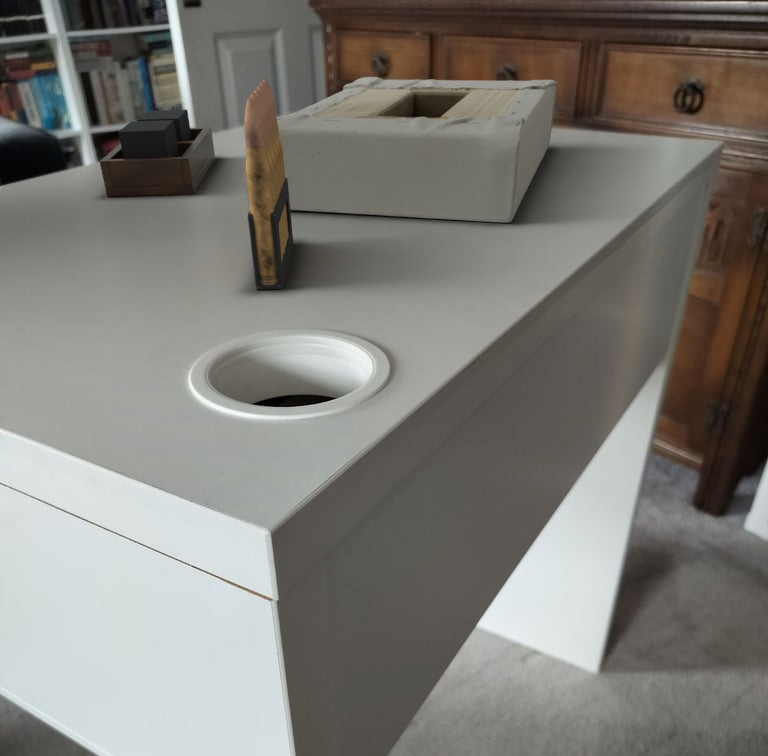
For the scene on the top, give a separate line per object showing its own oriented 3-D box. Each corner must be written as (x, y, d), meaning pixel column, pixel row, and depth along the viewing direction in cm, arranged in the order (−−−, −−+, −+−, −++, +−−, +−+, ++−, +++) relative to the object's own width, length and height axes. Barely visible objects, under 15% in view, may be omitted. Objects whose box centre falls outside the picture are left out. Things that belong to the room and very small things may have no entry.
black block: (128, 182, 78) (118, 131, 75) (140, 169, 83) (130, 121, 80) (172, 180, 78) (163, 130, 76) (181, 167, 83) (173, 119, 80)
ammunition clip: (270, 243, 64) (253, 76, 57) (293, 243, 64) (278, 76, 57) (256, 290, 55) (232, 99, 48) (282, 289, 55) (262, 99, 48)
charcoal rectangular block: (145, 166, 85) (136, 119, 82) (155, 155, 89) (147, 110, 86) (186, 165, 85) (178, 118, 82) (194, 154, 89) (187, 109, 87)
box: (519, 227, 66) (552, 146, 91) (525, 127, 62) (558, 70, 87) (264, 218, 72) (361, 144, 97) (253, 125, 67) (357, 72, 92)
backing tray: (107, 197, 77) (99, 161, 76) (141, 160, 91) (135, 129, 89) (193, 193, 78) (188, 158, 76) (215, 158, 91) (211, 127, 89)
